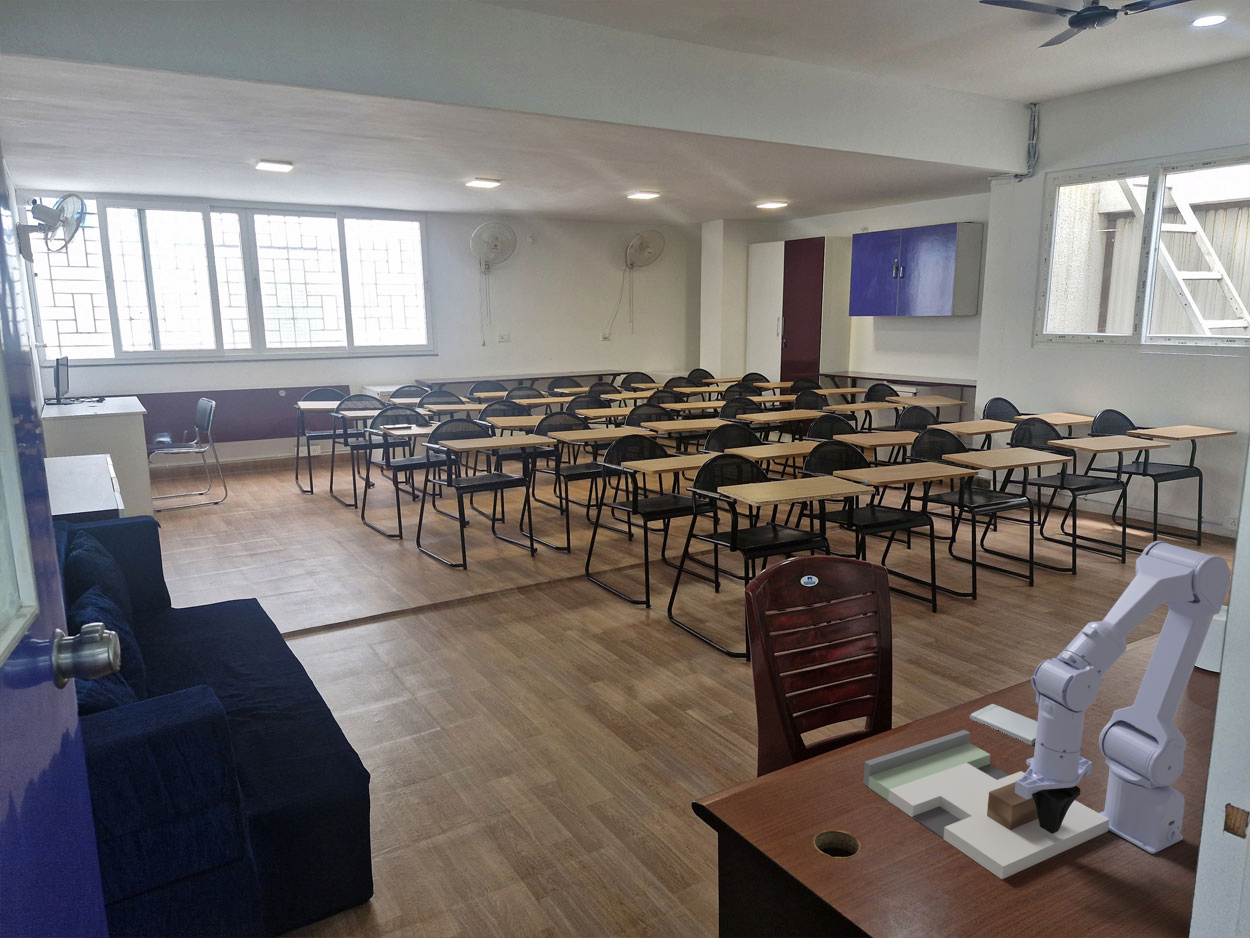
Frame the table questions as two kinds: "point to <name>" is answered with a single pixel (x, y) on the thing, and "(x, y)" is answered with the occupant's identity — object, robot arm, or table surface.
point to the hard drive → (1007, 722)
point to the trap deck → (971, 804)
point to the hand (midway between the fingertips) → (1048, 829)
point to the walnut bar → (1010, 807)
